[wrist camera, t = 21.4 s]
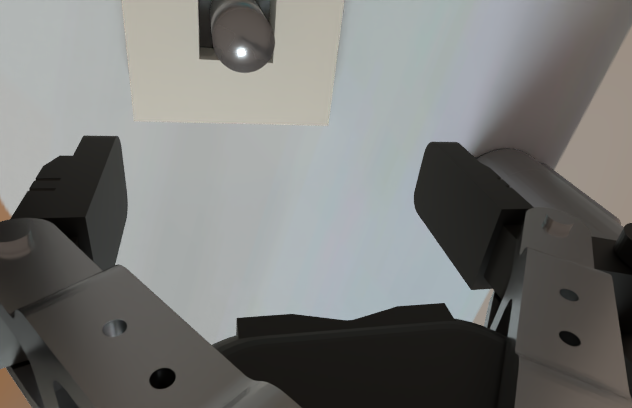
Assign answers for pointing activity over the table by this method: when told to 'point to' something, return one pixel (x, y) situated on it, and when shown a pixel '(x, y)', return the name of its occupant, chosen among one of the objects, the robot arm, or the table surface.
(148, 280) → the table surface
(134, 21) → the board
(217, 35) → the peg
